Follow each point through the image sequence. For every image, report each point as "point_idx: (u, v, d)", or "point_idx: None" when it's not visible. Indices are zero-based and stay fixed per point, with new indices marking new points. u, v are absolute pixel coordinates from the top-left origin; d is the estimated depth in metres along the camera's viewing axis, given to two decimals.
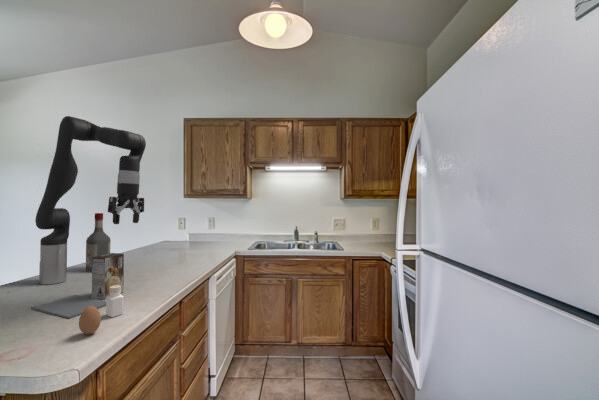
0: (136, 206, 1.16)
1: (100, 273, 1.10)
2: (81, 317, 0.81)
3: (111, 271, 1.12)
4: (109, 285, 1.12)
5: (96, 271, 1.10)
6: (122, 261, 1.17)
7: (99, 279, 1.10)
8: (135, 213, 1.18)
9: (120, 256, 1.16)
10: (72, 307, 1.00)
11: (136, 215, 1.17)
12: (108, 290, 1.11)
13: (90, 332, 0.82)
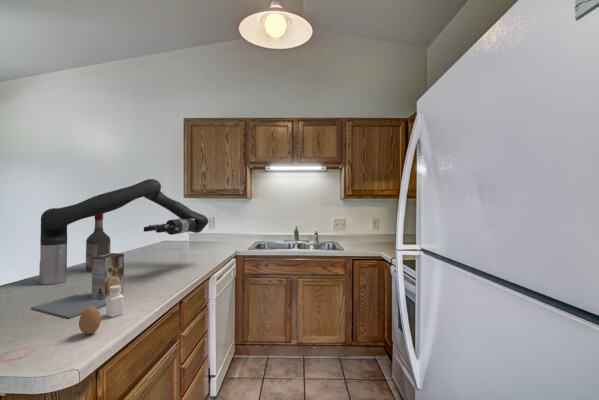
0: None
1: (100, 273, 1.10)
2: (81, 317, 0.81)
3: (111, 271, 1.12)
4: (109, 285, 1.12)
5: (96, 271, 1.10)
6: (122, 261, 1.17)
7: (99, 279, 1.10)
8: (151, 228, 1.38)
9: (120, 256, 1.16)
10: (72, 307, 1.00)
11: (150, 230, 1.37)
12: (108, 290, 1.11)
13: (90, 332, 0.82)
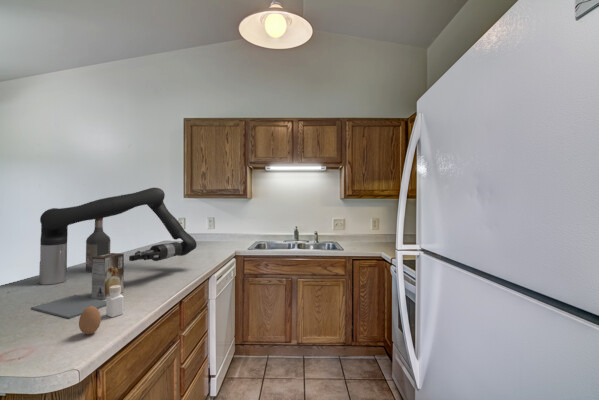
0: None
1: (100, 273, 1.10)
2: (81, 317, 0.81)
3: (111, 271, 1.12)
4: (109, 285, 1.12)
5: (96, 271, 1.10)
6: (122, 261, 1.17)
7: (99, 279, 1.10)
8: None
9: (120, 256, 1.16)
10: (72, 307, 1.00)
11: None
12: (108, 290, 1.11)
13: (90, 332, 0.82)
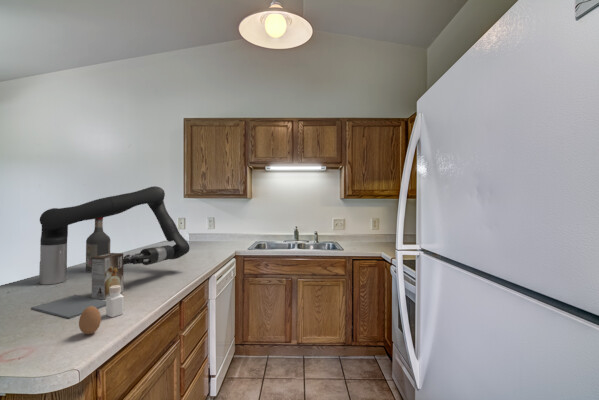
0: None
1: (100, 273, 1.10)
2: (81, 317, 0.81)
3: (111, 271, 1.12)
4: (109, 285, 1.11)
5: (96, 271, 1.10)
6: (121, 261, 1.17)
7: (99, 279, 1.10)
8: None
9: (120, 256, 1.16)
10: (72, 307, 1.00)
11: None
12: (108, 290, 1.11)
13: (90, 332, 0.82)
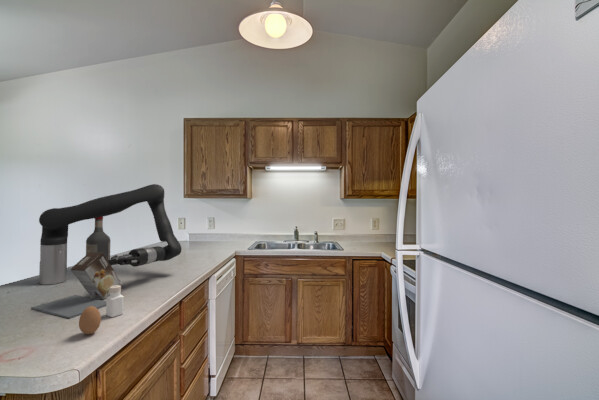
0: None
1: (87, 281, 1.05)
2: (81, 317, 0.81)
3: (98, 275, 1.07)
4: (103, 286, 1.09)
5: (82, 279, 1.05)
6: (105, 260, 1.09)
7: (89, 285, 1.06)
8: None
9: (100, 257, 1.07)
10: (72, 307, 1.00)
11: None
12: (104, 291, 1.09)
13: (90, 332, 0.82)
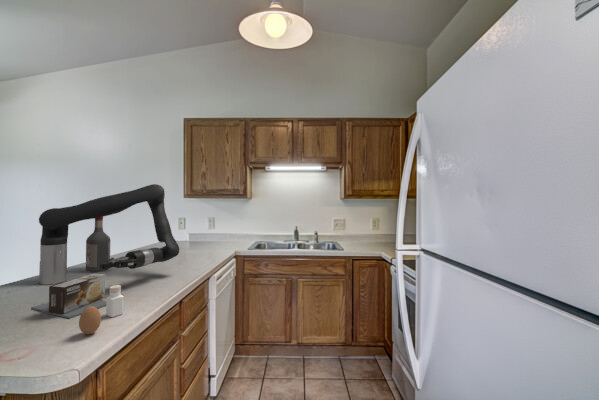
0: None
1: None
2: (81, 317, 0.81)
3: (80, 299, 1.00)
4: (94, 296, 1.05)
5: None
6: (73, 287, 0.97)
7: None
8: None
9: (66, 292, 0.95)
10: None
11: None
12: (98, 296, 1.07)
13: (90, 332, 0.82)
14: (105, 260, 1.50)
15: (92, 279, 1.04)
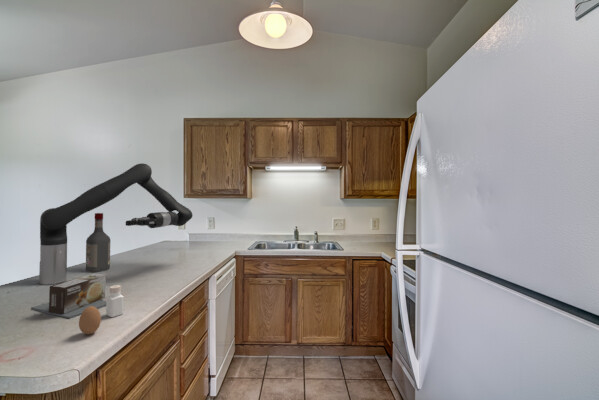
0: None
1: None
2: (81, 317, 0.81)
3: (81, 299, 1.00)
4: (94, 297, 1.05)
5: None
6: (73, 287, 0.97)
7: None
8: None
9: (66, 292, 0.95)
10: None
11: None
12: (98, 296, 1.07)
13: (90, 332, 0.82)
14: (105, 260, 1.50)
15: (92, 279, 1.04)
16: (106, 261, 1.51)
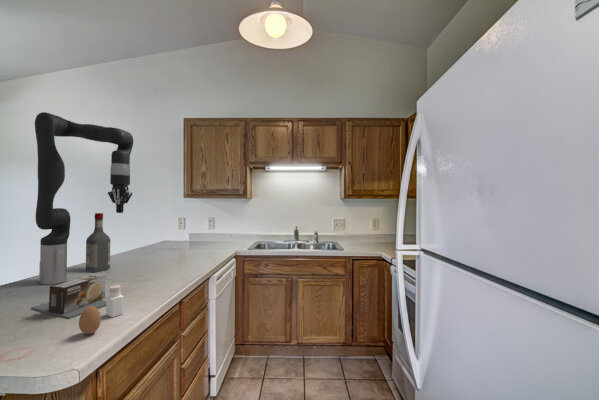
0: None
1: None
2: (81, 317, 0.81)
3: (81, 299, 1.00)
4: (94, 297, 1.05)
5: None
6: (73, 287, 0.97)
7: None
8: None
9: (66, 292, 0.95)
10: None
11: None
12: (98, 296, 1.07)
13: (90, 332, 0.82)
14: (105, 260, 1.50)
15: (92, 279, 1.04)
16: (106, 261, 1.51)
